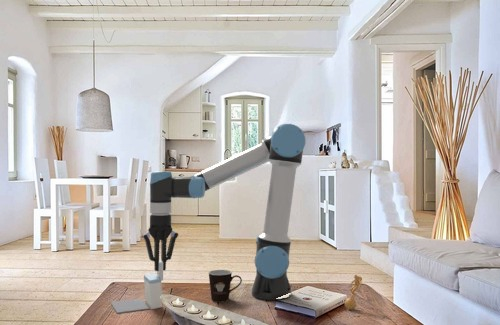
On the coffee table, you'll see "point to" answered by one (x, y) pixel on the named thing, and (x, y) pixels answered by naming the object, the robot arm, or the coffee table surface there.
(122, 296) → the coffee table surface
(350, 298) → the figurine
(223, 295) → the coffee mug
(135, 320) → the coffee table surface
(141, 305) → the felt mat
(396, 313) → the coffee table surface
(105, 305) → the coffee table surface
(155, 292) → the slab
